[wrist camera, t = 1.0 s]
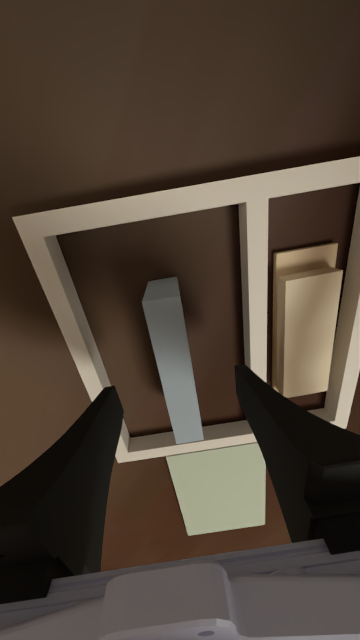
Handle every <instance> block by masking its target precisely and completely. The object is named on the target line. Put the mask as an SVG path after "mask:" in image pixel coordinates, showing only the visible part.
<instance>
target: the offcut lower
mask: <svg viewBox="0 0 360 640" xmlns="http://www.w3.org/2000/svg"><path fill="white" fill-rule="evenodd" d="M337 248H338V243H328V244H322V245H317V246H311V247H305V248H300V249H294V250H288V251H283V252H277V253H274V267H273V335H272V388H273V389H275V390H276V391H277V392H279V391H278V389H277V277H279V276H284V275H289V274H294V273H300V272H305V271H310V270H315V269H320V268H326V267H333V268H335V263H336V255H337Z"/></svg>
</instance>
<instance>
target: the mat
mask: <svg viewBox="0 0 360 640" xmlns="http://www.w3.org/2000/svg"><path fill="white" fill-rule="evenodd" d="M166 459H167V463H168V466H169V470H170V473H171V477H172V480H173V484H174V487H175V491H176V494H177V498H178V501H179V505H180V508H181V512H182V515H183V519H184V522H185V526H186V529H187V533H188V536H190V535H196V534H203V533H210V532H217V531H224V530H231V529H238V528H245V527H251V526H258V525H265V478H266V463H265V460H264V458H263V455H262V452H261V450H260V447H259V445H258V443H257V442H253V443H246V444H240V445H233V446H227V447H220V448H214V449H207V450H201V451H194V452H187V453H181V454H174V455H168V456H166Z"/></svg>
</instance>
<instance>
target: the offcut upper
mask: <svg viewBox="0 0 360 640" xmlns="http://www.w3.org/2000/svg"><path fill="white" fill-rule="evenodd" d="M342 274H343V270H340V269H337V268H333V267H326V268H320V269H315V270H310V271H305V272H300V273H294V274H289V275H284V276H279V277H277V389H278V391H279V392H280V394H281V395H283V396H284V397H286V398H289V397H295V396H300V395H306V394H312V393H318V392H323V391H327V389H328V381H329V374H330V366H331V358H332V351H333V343H334V335H335V328H336V320H337V312H338V305H339V297H340V290H341V282H342Z"/></svg>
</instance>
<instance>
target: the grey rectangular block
mask: <svg viewBox="0 0 360 640" xmlns="http://www.w3.org/2000/svg"><path fill="white" fill-rule="evenodd" d="M142 305H143V309H144V313H145V318H146V322H147V326H148V330H149V334H150V338H151V342H152V346H153V350H154V354H155V358H156V362H157V367H158V371H159V375H160V379H161V383H162V387H163V391H164V395H165V399H166V403H167V407H168V412H169V416H170V420H171V424H172V428H173V432H174V436H175V440H176V444H181V443H187V442H194V441H200V440H204V437H203V431H202V425H201V419H200V413H199V407H198V401H197V395H196V389H195V383H194V377H193V371H192V364H191V358H190V352H189V346H188V340H187V334H186V328H185V322H184V316H183V310H182V304H181V298H180V291H179V285H178V279H177V277H171V278H165V279H159V280H153V281H148V284H147V287H146V290H145V294H144V297H143V300H142Z"/></svg>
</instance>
